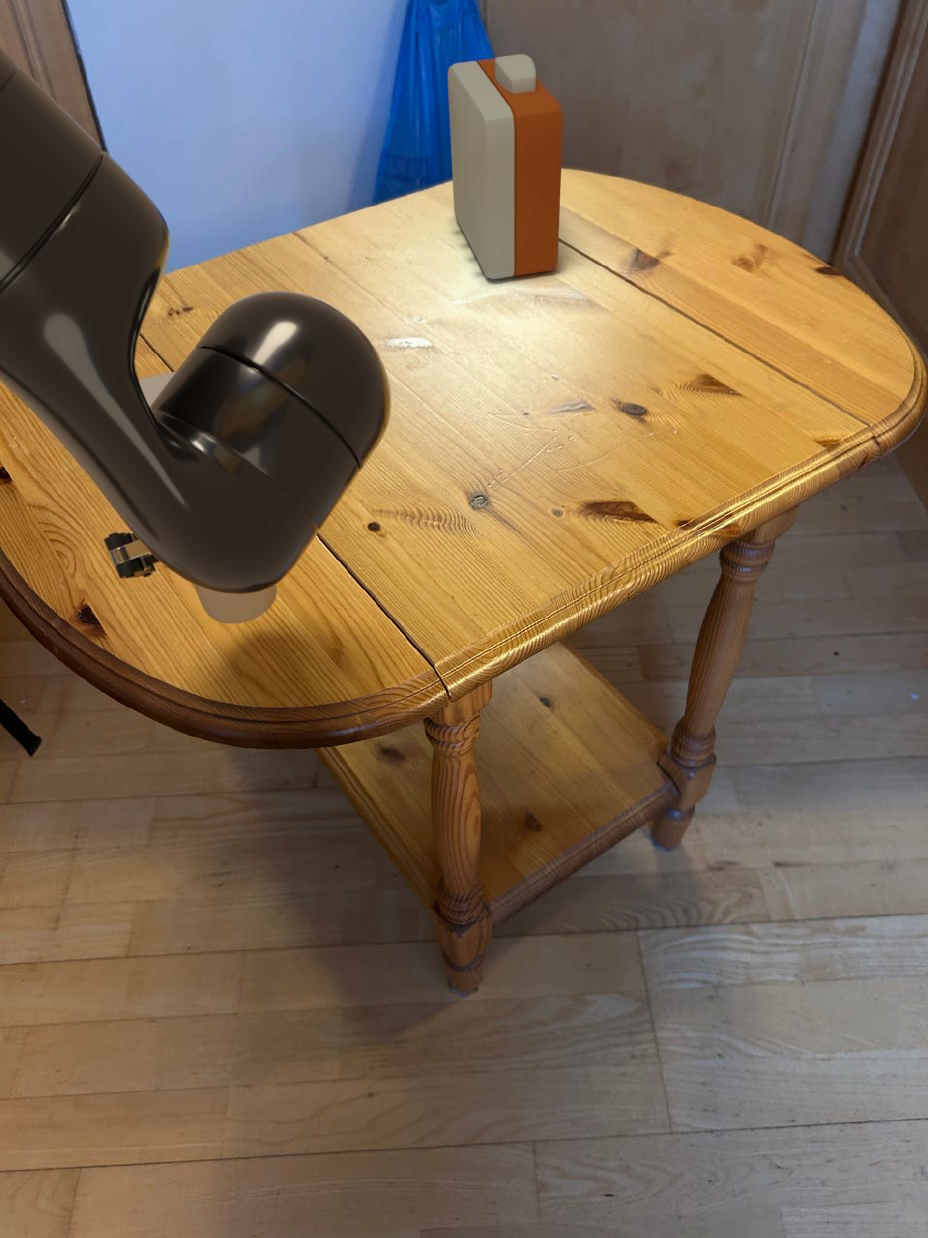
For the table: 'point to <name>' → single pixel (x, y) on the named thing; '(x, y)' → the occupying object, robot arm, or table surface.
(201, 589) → the candle
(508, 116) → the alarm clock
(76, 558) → the table surface
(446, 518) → the table surface
